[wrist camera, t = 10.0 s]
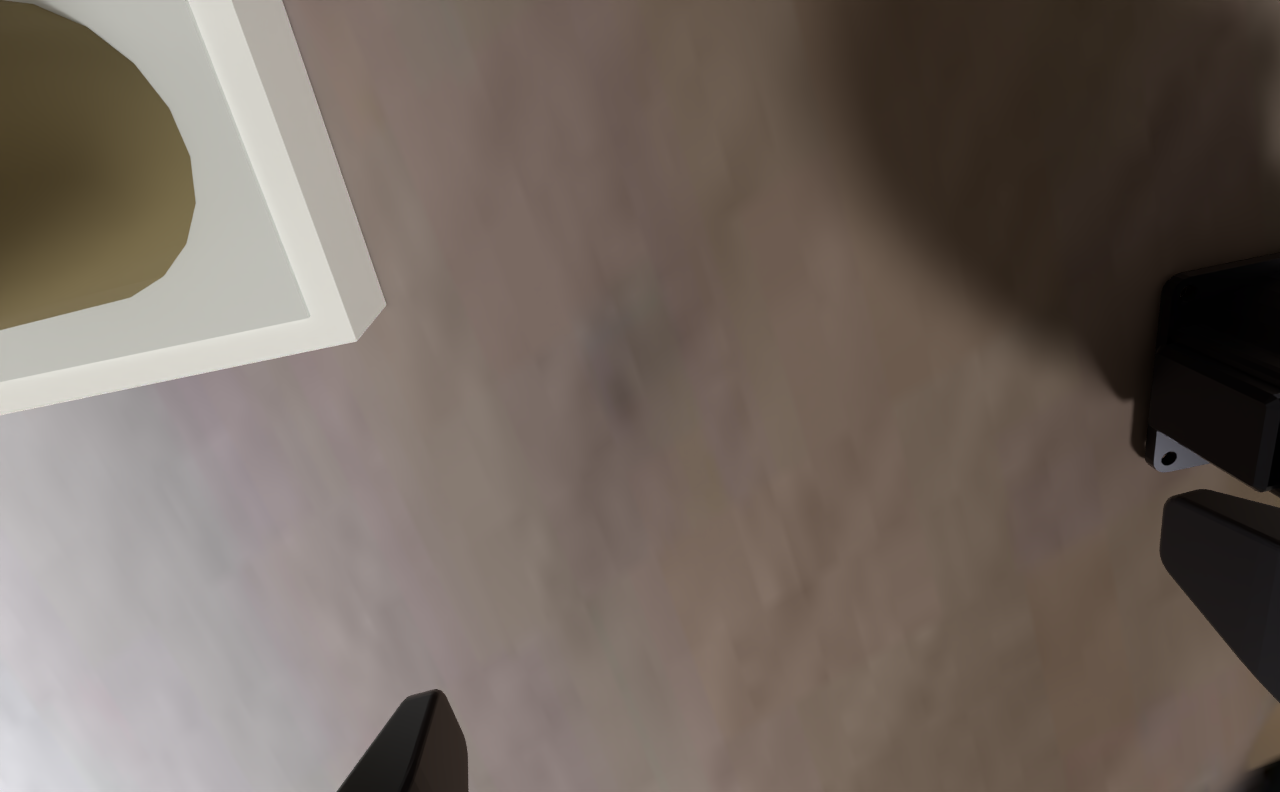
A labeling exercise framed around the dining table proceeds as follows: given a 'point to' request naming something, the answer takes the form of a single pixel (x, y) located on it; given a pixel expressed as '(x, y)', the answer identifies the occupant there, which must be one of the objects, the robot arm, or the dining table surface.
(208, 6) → the tray
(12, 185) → the cork
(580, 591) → the dining table surface
